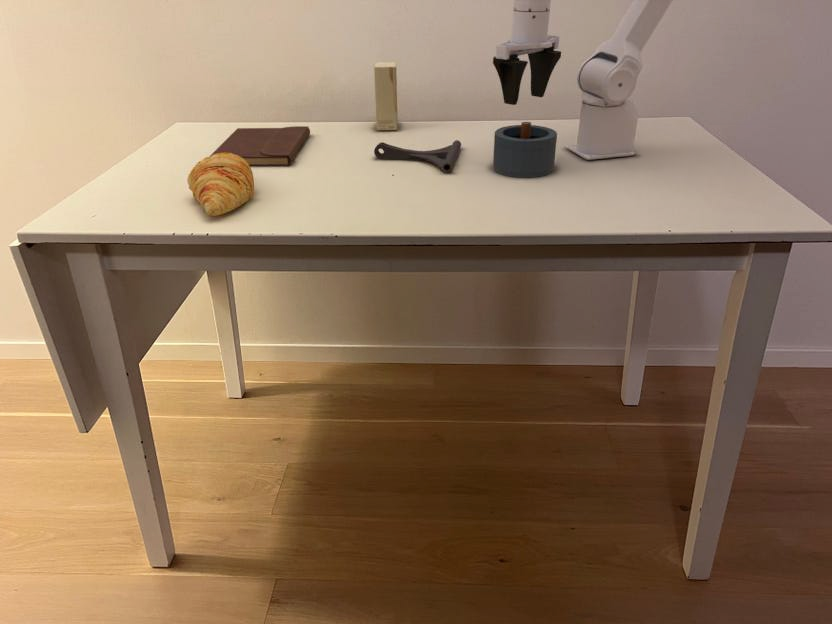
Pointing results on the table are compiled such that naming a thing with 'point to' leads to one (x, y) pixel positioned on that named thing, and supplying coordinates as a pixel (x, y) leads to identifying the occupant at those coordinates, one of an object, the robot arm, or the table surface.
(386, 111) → the cosmetic box
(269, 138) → the notebook
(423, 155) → the bracket
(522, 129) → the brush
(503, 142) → the jar
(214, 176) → the croissant
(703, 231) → the table surface
